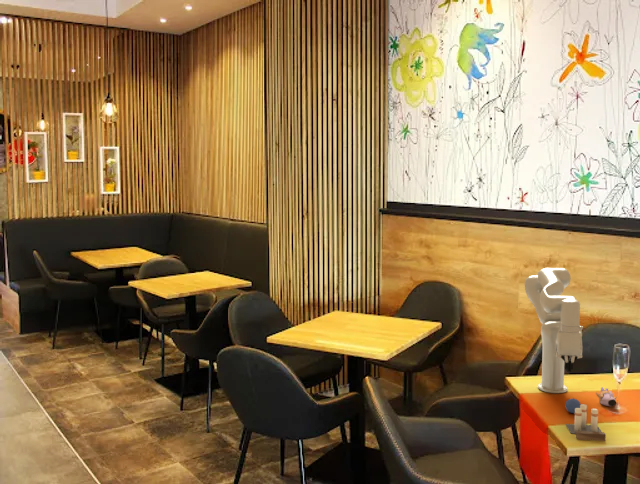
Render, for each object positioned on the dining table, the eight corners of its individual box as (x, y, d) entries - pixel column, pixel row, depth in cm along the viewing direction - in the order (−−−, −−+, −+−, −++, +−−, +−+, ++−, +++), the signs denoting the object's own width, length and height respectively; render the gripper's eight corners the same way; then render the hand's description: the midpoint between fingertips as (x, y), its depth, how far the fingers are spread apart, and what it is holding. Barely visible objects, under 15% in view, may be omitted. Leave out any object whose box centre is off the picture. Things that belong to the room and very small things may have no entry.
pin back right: (573, 430, 251) (574, 407, 250) (580, 430, 251) (580, 408, 250) (575, 432, 249) (575, 410, 248) (581, 433, 248) (582, 410, 247)
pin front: (578, 426, 255) (579, 404, 254) (585, 426, 255) (586, 404, 254) (580, 428, 252) (581, 406, 251) (587, 428, 252) (587, 406, 251)
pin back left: (589, 430, 250) (590, 408, 249) (596, 431, 250) (597, 408, 249) (591, 433, 248) (592, 410, 247) (598, 433, 247) (599, 410, 246)
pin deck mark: (565, 424, 257) (565, 424, 257) (597, 425, 255) (597, 425, 255) (570, 433, 248) (570, 433, 248) (603, 434, 246) (603, 434, 246)
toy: (614, 386, 285) (626, 399, 270) (612, 399, 286) (623, 413, 271) (592, 383, 286) (602, 396, 271) (590, 395, 287) (600, 409, 272)
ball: (563, 410, 272) (564, 396, 271) (578, 410, 271) (579, 396, 271) (567, 415, 266) (567, 401, 266) (582, 415, 265) (582, 401, 265)
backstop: (575, 437, 244) (576, 431, 244) (603, 438, 243) (604, 432, 243) (577, 439, 242) (577, 433, 242) (605, 440, 241) (605, 434, 241)
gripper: (585, 327, 277) (584, 368, 279) (549, 326, 279) (548, 367, 281) (590, 331, 270) (589, 374, 272) (553, 330, 272) (552, 373, 274)
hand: (568, 370), depth 276 cm, fingers closed
